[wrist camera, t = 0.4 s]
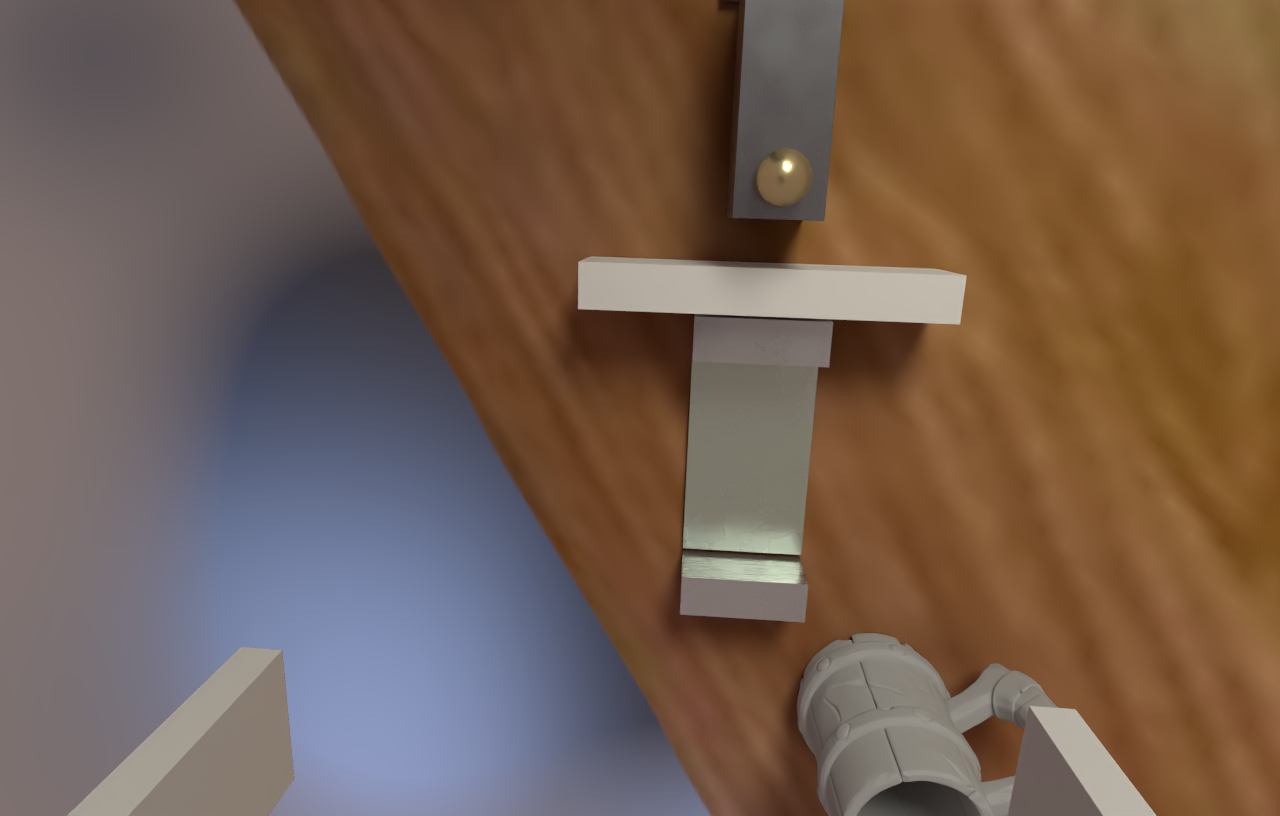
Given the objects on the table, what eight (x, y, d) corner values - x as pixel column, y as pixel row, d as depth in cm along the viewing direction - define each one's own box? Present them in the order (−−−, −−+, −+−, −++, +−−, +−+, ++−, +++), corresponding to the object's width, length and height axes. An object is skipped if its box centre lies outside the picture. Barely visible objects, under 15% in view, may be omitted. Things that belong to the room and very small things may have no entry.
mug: (773, 650, 40) (805, 827, 29) (996, 585, 39) (1125, 744, 27) (817, 767, 42) (864, 978, 30) (1033, 709, 40) (1171, 910, 29)
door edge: (590, 256, 36) (578, 261, 32) (936, 268, 35) (966, 275, 31) (590, 299, 36) (578, 309, 33) (930, 312, 35) (959, 324, 32)
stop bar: (738, 3, 33) (750, -54, 26) (820, 4, 33) (854, -53, 26) (726, 217, 35) (734, 218, 28) (802, 219, 35) (829, 221, 28)
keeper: (694, 308, 36) (694, 316, 33) (822, 313, 36) (833, 322, 33) (680, 585, 40) (679, 614, 37) (796, 592, 39) (804, 622, 37)
